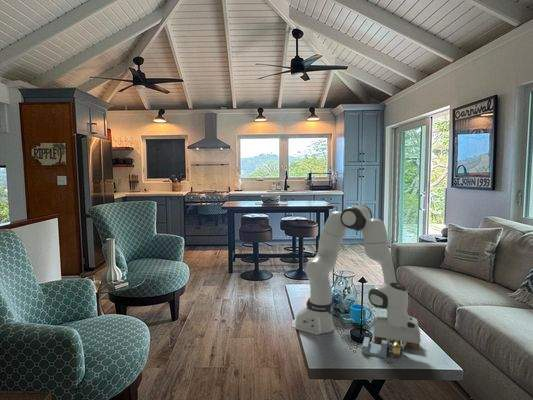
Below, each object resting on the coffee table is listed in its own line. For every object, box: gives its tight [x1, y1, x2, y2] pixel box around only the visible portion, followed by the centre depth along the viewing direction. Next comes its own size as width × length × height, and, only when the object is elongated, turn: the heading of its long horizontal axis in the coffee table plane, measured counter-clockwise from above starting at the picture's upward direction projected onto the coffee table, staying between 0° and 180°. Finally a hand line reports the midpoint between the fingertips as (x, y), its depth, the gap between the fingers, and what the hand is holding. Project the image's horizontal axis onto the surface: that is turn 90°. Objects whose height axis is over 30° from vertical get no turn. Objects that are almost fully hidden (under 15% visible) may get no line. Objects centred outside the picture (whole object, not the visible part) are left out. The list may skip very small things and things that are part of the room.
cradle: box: [361, 336, 388, 359], centre depth 159 cm, size 10×9×4 cm
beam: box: [373, 335, 421, 351], centre depth 166 cm, size 20×6×5 cm, turn 67°
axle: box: [391, 339, 402, 359], centre depth 160 cm, size 4×14×4 cm, turn 158°
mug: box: [349, 303, 373, 325], centre depth 191 cm, size 12×8×8 cm
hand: (396, 348), depth 158 cm, fingers closed on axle, 4 cm apart
